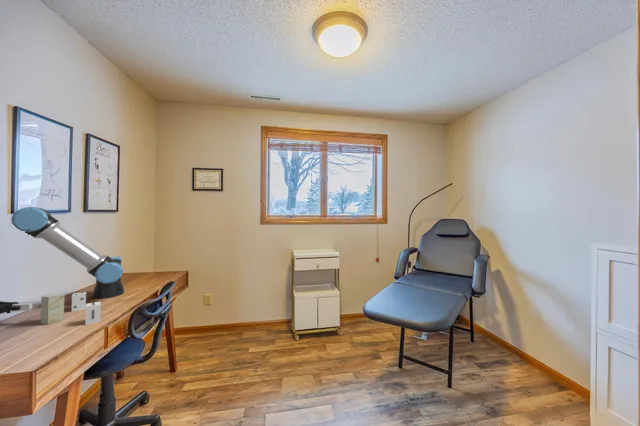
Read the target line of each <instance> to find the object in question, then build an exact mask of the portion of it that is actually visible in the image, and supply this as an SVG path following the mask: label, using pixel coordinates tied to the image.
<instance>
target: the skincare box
mask: <svg viewBox="0 0 640 426" xmlns="http://www.w3.org/2000/svg"><path fill="white" fill-rule="evenodd" d="M40 305H41V306H40V324H41V325H42V324H43V325H50V324H53V323H56V322H60V321H62V320H64V317H65V293H64V292H56V293H55V292H54V293H52V294H46V295H42V296H41V303H40Z"/></svg>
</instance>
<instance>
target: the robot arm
mask: <svg viewBox="0 0 640 426" xmlns="http://www.w3.org/2000/svg"><path fill="white" fill-rule="evenodd" d="M10 221H11V224H13V225H14V226H15V227H16V228H17V229H19V230H21V231H25V233H27V234H28V235H31V236H30V237H33V238H34V239H43V240H44V241H46V242H47V243H49V244H50V245H51V246H53V247H55V248H56V249H58V250H59V251H61V252H62V253H64V254H65V255H67V256H68V257H70V258H71V259H73V260H74V261H76V262H77V263H78V264H81V265H82V266H84V267H85V268H86V273H88V274H89V275H91V276H93V277H94V278H95V285H94V288H93V290H92V292H91V298H92V299H106V298H113V297H117V296H120V295H122V294H124V293H125V288H124V285H123V283H122V276H123V274H124V273H123V272H124V269H123V265H122V260H123V259H122V257H121V256H109V255H106V254H104V255H103V254H101V253H99V252H97V251H96V250H95V249H94V248H91V247H90V246H89V245H88V244H87V243H85V242H83V241H82V240H80V239H79V238H78V237H76V236H74V235H73V234H72V233H70V232H69V231H68V230H66V229H65V228H63V227H62V226H60V221H59V220H58V219H57V218H55V217H54V216H52V214H51V213H50V212H49V211H48V210H46V209H44V208H41V207H36V206H26V207H22V208H20V209H18V210H16V211H15V212H14V213H13V215H12V216H11V220H10ZM31 310H33V303H32V302H27V303H19V302H18V301H2V300H1V301H0V314H4V313H6V314H10V313H11V312H19V311H20V312H22V311H31Z"/></svg>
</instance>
